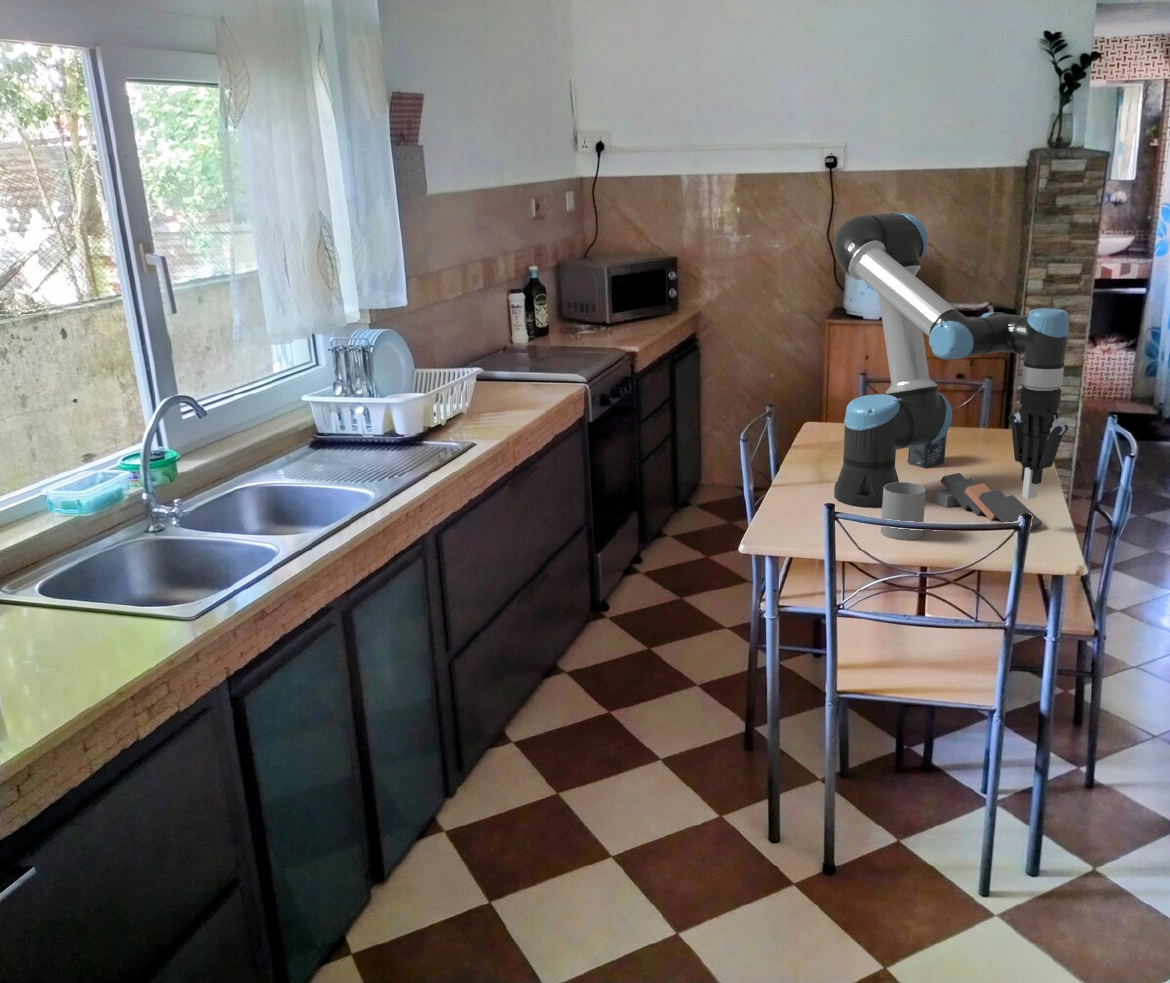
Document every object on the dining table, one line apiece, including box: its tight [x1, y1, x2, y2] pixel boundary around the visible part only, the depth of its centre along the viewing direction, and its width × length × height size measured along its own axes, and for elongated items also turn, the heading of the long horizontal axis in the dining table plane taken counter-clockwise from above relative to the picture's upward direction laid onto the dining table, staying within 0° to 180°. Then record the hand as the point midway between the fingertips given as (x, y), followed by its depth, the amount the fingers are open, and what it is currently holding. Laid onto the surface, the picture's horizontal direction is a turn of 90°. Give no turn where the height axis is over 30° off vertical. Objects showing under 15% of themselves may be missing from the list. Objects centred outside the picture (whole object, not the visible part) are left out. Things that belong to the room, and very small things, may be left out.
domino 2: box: [952, 477, 985, 516], centre depth 224 cm, size 5×2×9 cm
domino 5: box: [993, 494, 1043, 531], centre depth 214 cm, size 5×2×9 cm
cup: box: [880, 481, 927, 541], centre depth 211 cm, size 8×8×10 cm
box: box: [907, 431, 948, 469], centre depth 258 cm, size 8×6×11 cm
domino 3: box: [965, 482, 1000, 521], centre depth 221 cm, size 5×2×9 cm
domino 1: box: [940, 472, 971, 510], centre depth 227 cm, size 5×2×9 cm
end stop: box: [933, 488, 960, 508], centre depth 230 cm, size 8×4×2 cm, turn 116°
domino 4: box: [979, 489, 1011, 523], centre depth 218 cm, size 5×2×9 cm
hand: (1029, 497), depth 211 cm, fingers closed
